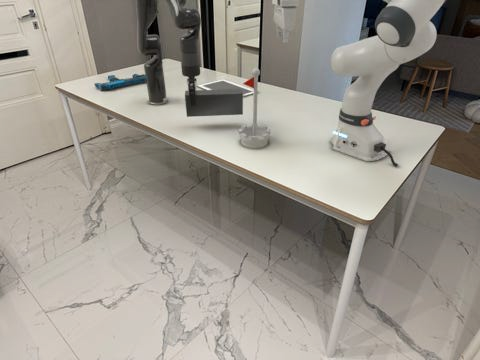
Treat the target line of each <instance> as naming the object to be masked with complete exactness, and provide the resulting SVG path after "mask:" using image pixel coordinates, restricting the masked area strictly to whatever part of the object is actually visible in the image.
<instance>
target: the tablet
mask: <svg viewBox="0 0 480 360" xmlns="http://www.w3.org/2000/svg"><path fill="white" fill-rule="evenodd" d="M197 88H200V89H201V90H220V89H242V92H243V98H244V97H248V96H250V95H251V96H252V95H253V93H254V89H253V88H251V87H248V86H245V85H241V84H238V83H236V82H233V81H230V80H228V79H225V78H222V79H219V80H214V81H211V82H210V81H209V82H207V83H203V84H198V85H197ZM258 93H259V91H258V92H257V94H258Z"/></svg>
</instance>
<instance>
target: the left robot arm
mask: <svg viewBox="0 0 480 360" xmlns="http://www.w3.org/2000/svg"><path fill="white" fill-rule="evenodd" d="M165 1H166V3H167V4H168V7H169V11H170V14H171V19H172V23H173V24H174V26H175V27H176V28H177V29H178V30H181V31H182V30H187V32H186V33H185V34H183V35H181V36H180V37H179V48H180V67H181V75H182V76H183V77H187V78H186V84H187V91H189V96H190V102H191V106H195V105H196V98H195V97H196V95H195V92H196V90H197V83H198V81H197V77H198V76H200V75H201V62H200V61H201V59H200V53H199V43H198V41H199V36H200V30H201V26H202V25H201V24H202V17H201V13H200V11H199V10H198V9H197V8H195V7H187V8H184V7H185V6H186V5H187V0H165ZM135 9H136V23H137V25H136V26H137V28H136V29H137V31H136V46H137V51H138V54H139V55H140V56H141V57H149V56H152V58H151V59H150V60H148V61H145V63H144V64H143V70H144V75H145V76H146V81H145V83H146V89H147V95H148V103H149V104H150V105H154V106H159V105H165V104H166V103H167V102H168V97H167V89H166V81H165V73H164V65H163V63H164V61H163V54H162V53H163V52H162V42H161V39H160V38H161V37H159V35H158V34H147V33H148V31H149V28H150V26H151V25H152V23H153V22H154V20H155V19H156V18H157V16H158V11H159V0H135ZM191 92H194V94H191Z"/></svg>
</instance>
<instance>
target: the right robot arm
mask: <svg viewBox="0 0 480 360" xmlns="http://www.w3.org/2000/svg"><path fill="white" fill-rule="evenodd" d="M382 1H383V2H385V3H387V5H385V7H383V8H382V9H381V11H380V13H379V14H378V15H377V17H376V19H375V22H374V28H375V29H374V30H375V33H376V35H374V36H370V37H366V38H363V39H360V40H358V41H354V42H352V43H349V44H345V45H341V46H338V47H336V48H335V49H334V50H333V52H332V54H331V57H330V67H331V70H332V72H333V73H334V74H335V75H336V76H341V77H348V78H352V77H358V78H357V79H356V80H355V81H354V82H353V83H351V84H349V85H348V86H347V87H346V89H345V90H344V92H343V98H342V103H341V108H340V109H339V113H338V122H337V123H338V124H337V127H336V130H335V131H332V134H334V135H333V137H332V139H331V144H332V149H333V150H334V151H336V152H340V153H343V154H344V155H345V154H346V155H348V156H351V157H354V158H356V159H359V160H361V161H365V162H374V161H379V160H381V159H383V158H385V157H387V156H388V157H389V158H390V162H391V164H392V165H393V166H394V167H398V166H399V165H398V163H396V162H395V160H394V157H393V156H392V154H391V153H390V150H389V148H387V147H386V146H387V144H386V143H385V138H384V135H383V134H382V133H381V131H379V128H377V126H376V125H375V124H374V121H375V120H376V119H377V116H373V113H372V109H373V104H374V101H375V97H376V95H377V92H378V90H379V89H380V87H381V86H382V83H383V82H384V81H385V80H386V79H387V77H388V76H390V75H391V74H392V73H393V72H394V71H396V70H397V69H398V68H399V66H400V65H402V64H405V63H408V62H411V61H412V60H415V59H417V58H419V57H420V56H423V55H424V54H425V53H427V52H428V51H430V50H431V49H432V48H433V46H434V44H435V43H436V40H437V37H438V35H437V34H438V33H437V29H436V26H435V24H434V23H433V22H432V21H431V19H433V17H434V16H435V15H436V14H437V13H438V11H439V10H440V9H441V7H442V6H444V5H445V4H446V2H447V0H382ZM271 2H272V3H271V4H272V5H274V9H273V23H274V24H275V25H276V31H277V32H276V37H277V38H278V39H281V41H282V43H284V44H287V43H288V42H289V36H290V33H291V32H293V31H294V30H295V27H296V20H297V14H298V13H297V12H298V7H300V6H299V5H300V0H271Z"/></svg>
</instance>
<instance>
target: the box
mask: <svg viewBox="0 0 480 360" xmlns="http://www.w3.org/2000/svg"><path fill="white" fill-rule="evenodd" d="M191 94H194V92H191ZM195 95H196V97H195V98H196V105H195V106H191V102H190V96H189V91H188V90H185V91H184V100H185V112H186V117H187V118H189V117H190V118H191V117H194V118H195V117H215V116H216V117H217V116H242V115H243V114H244V97H243V92H242V89H220V90H205V89H196V92H195Z"/></svg>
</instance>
